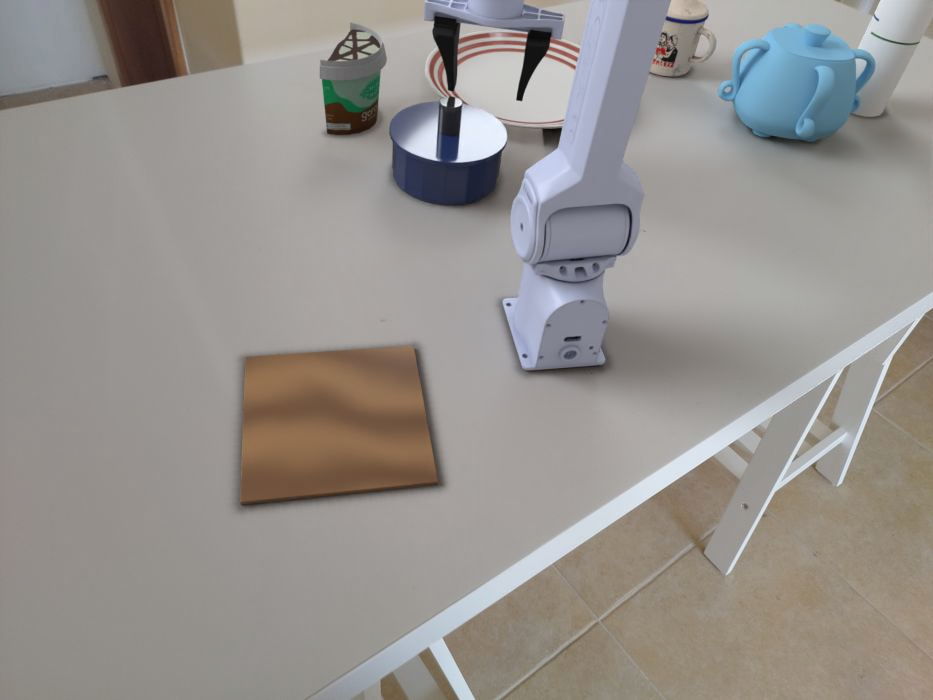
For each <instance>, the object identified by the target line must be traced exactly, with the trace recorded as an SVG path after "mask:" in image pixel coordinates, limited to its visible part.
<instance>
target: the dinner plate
mask: <svg viewBox="0 0 933 700" xmlns="http://www.w3.org/2000/svg"><path fill="white" fill-rule="evenodd" d="M527 35H528V32H521V31H514V30H507V29H491V30H480V31H479V30H478V31H473V32H468V33H464V34H461V35H460V34H459V43H458V62H457V82H456V86H455V89H454V91H448V84H447V76H446V71H445V67H444V63H443V60H442V57H441V54H440V51H439V49H438V47H437V46H436V47H435V48H434V49H433V50H432V51H431V52H430V53H429V54H428V57H427V58H426V61H425V65H424V74H425V78H426V80H427V82H428V84H429V86H430V87H431V89H432V90H433V91H434V92H435V93H436V95H438V96H439V97H440V99H441V98H443V97H447V96H452V97H456V98H459V99H460V100H461V101H462V103H463V104H467V105H471V106H474V107H477V108H480V109H482V110H484V111H486V112H488V113H490V114H492V115H493V116H495V117H496V118H497V119H498V120H500V121H501V122H502V124H503V125H504V126H509V127H514V128H523V129H535V130H537V129H541V130H543V129H545V130H546V129H547V130H548V129H550V130H551V129H562V127H563V123H564V119H565V114H566V110H567V105H568V101H569V96H570V92H571V87H572V83H573V78H574V74H575V69H576V65H577V60H578V56H579V51H580V47H581V44H577V43H575V42H573V41H570V40H567V39H564V38H561V40H559V39H553V38H551V39H550V46H549V49H548V51H547V53H546V55H545V56H544V57H543V59H542V60H541V62H540V63H539V64H538V66H537V68H536V69H535V71H534V73H533V74H532V76H531V78H530V80H529V82H528V85H527V87H526V90H525V92H524V96H523V100H522V101H516V97H517V91H518V85H519V80H520V76H521V72H522V67H523V61H524V53H525V46H526V40H527Z"/></svg>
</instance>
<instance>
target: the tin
mask: <svg viewBox="0 0 933 700" xmlns="http://www.w3.org/2000/svg"><path fill="white" fill-rule="evenodd" d="M391 152H392V153H391V155H392V157H391V158H392V159H391V164H392V165H391V168H392V174H393V180H394V181H395V183H396V185H397V186H398V187H399V188H400V189H401V190H402V191H403V192H405V193H406V194H408V195H409V196H411V197H413V198H415V199H417V200H419V201H422V202H425V203H430V204H435V205H442V206H459V205H461V206H462V205H466V204H471V203H475V202H478V201H480V200H483V199H485V198H486V197H488V196H489V195H490V194H492V192H493V191H494V190H495V189H496V186H497V185H498V181H499V180H498V179H499V176H500V170H501V164H502V156H503V155H502V154H503V151H502V152H501V153H500V154H499V155H498V156H496V157H495V158H493V159H491V160H489V161H486V162H483V163H480V164H476V165H470V166H441V165H435V164H431V163H426V162H423V161H420V160H417V159H415V158H413V157H411V156H409V155H407V154H405V153H404V152H402V151H401V150H400V149H399V148H397V147H396V145H395V144H394V143H393V142H392V151H391Z"/></svg>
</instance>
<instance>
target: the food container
mask: <svg viewBox="0 0 933 700" xmlns="http://www.w3.org/2000/svg"><path fill="white" fill-rule="evenodd" d="M387 61H388V58H387V52H386V48H385V43H384V42H383V39H382V37H381V36H380V35H379V34H378V33H377V31H375V30H373V29H371V28H370V27H367V26H365V25H362V24H359V23H355V22H351V21H350V22H349V32H348V33H347V35H346V36H345V38H344V39H342V40H341V41H339V42H338V43H337V45H336V46H335V47H334V49H333V51H332V53H331V55H330V57H328V59H320V60H319V80H321V84H322V95H323V105H324V106H323V107H324V116H325V117H324V118H325V123H326V124H325V127H326V135H332V136H352V135H356V134H361V133H364V132H366V131H369V130H370V129H371V128H373V127H374V126H375V125H376V124H377V122H378V111H379V97H380V85H381V74H382V73H381V72H382V70H383V69H384V67H385V66H386V65H387V63H388V62H387Z"/></svg>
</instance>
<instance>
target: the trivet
mask: <svg viewBox="0 0 933 700" xmlns="http://www.w3.org/2000/svg"><path fill="white" fill-rule="evenodd" d="M244 359H245V360H244V382H243V383H244V385H243V386H244V388H243V409H242V410H243V415H242V436H241V437H242V439H241V441H242V442H241V463H240V464H241V466H240V467H241V468H240V493H239V494H240V495H239V498H240V499H239V504H240V505H251V504H261V503H262V504H263V503H271V502H281V501H291V500H299V499H300V500H301V499H309V498H319V497H320V498H321V497H329V496H341V495H350V494H358V493H369V492H377V491H378V492H379V491H388V490H396V489H407V488H416V487H417V488H418V487H426V486H435V485H439V479H438V474H437V473H438V472H437V468H436V467H437V466H436V462H435V457H434V450H433V446H432V441H431V440H432V439H431V434H430V430H429V429H430V428H429V423H428V417H427V411H426V406H425V401H424V395H423V388H422V384H421V383H422V382H421V378H420V373H419V367H418V366H419V365H418V361H417V355H416V350H415V346H414V345H401V346H400V345H399V346H387V347H386V346H385V347H372V348H371V347H370V348H356V349H344V350H342V349H341V350H327V351H313V352H312V351H311V352H298V353H284V354H270V355H269V354H268V355H255V356H253V355H252V356H245V358H244Z"/></svg>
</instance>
